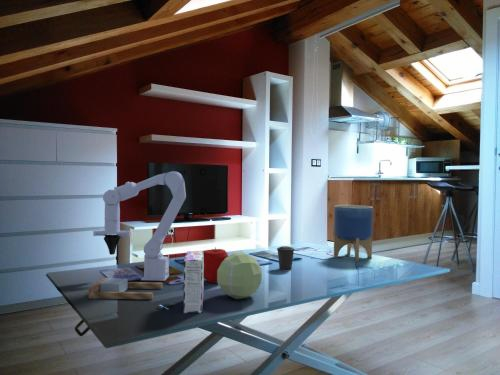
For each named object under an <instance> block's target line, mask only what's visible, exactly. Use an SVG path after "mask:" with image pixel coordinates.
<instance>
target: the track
mask: <svg viewBox="0 0 500 375" xmlns="http://www.w3.org/2000/svg"><path fill="white" fill-rule="evenodd" d="M109 278H110V277H103V278H101V279H100V280H98V281H97V282H95V283H94V284H92V285H91V286H89V287H88V299H104V300H105V299H108V300H110V299H111V300H113V299H114V300H153V299H154V292H151V291H150V292H149V291H148V292H147V291H146V292H145V291H144V292H142V291H139V292H138V291H124V292H103V291H100V283H101V282H103V281H105V280H107V279H109ZM128 289H142V290H143V289H144V290H145V289H147V290H162V289H163V282H146V281H144V282H141V281H139V282H138V281H128Z"/></svg>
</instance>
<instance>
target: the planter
mask: <svg viewBox="0 0 500 375" xmlns="http://www.w3.org/2000/svg"><path fill="white" fill-rule="evenodd" d="M333 208H334V210H333V211H334V212H333V213H334V214H333V217H334V218H333V234H334V235H333V257H334V258H335V259H336V258H339V253H340V251H341V250H342V248H343V247H345V246H346V253H347V255H351V250H352V246H353V250H354V261H355V262H356V263H357V262H360V246H361V247H362V248H363V249H364V250H365V253H366V257H367V258H368V259H372V258H373V256H372V255H373V236H374V234H373V233H374V232H373V231H374V229H373V228H374V207H373V206H370V205H361V204H360V205H359V204H358V205H357V204H335V205H334V206H333Z"/></svg>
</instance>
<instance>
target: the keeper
mask: <svg viewBox="0 0 500 375" xmlns="http://www.w3.org/2000/svg"><path fill="white" fill-rule="evenodd" d="M108 278H109V279H107V280H105V281H103V282H101V283H100V291H103V292H127V290H128V289H129V288H128V282H129V280H128V278H117V277H116V278H114V277H113V278H112V277H108Z"/></svg>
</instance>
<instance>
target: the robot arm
mask: <svg viewBox="0 0 500 375" xmlns="http://www.w3.org/2000/svg"><path fill="white" fill-rule="evenodd" d="M157 185H162V186H167V188H168V189H169V190H170V193H171V194H172V199H171V201H170V203H169V204H168V207H167V208H166V210H165V212H164V214H163V215H162V218H161V220H160V222H159V224H158V226H157V228H156V230H155V231H154V233H153V235H152V236H151V238H149V240H148V242H146V243H145V244H144V247H143V253H144V256H143V257H144V259H143V260H144V262H143V264H144V266H143V268H144V269H143V272H144V273H143V274H144V275H143V277H142V278H140V281H166V280H167V279H168V278H169V276H170V271H169V270H170V260H169V257H168V256H164V254H163V253H162V249H163V247H164V241H165V238H166V237H167V234H168V233H169V231H170V229H171V227H172V225H173V223H174V221H175V219H176V217H177V215H178V214H179V211H180V210H181V207H182V206H183V204H184V202H185V201H186V198H187V194H186V193H187V192H186V184H185V179H184V177H183V175H182V173H180V172H178V171H175V170H173V171H169V172H163V173H160V174H157V175H153V176H152V177H150V178H147V179H145V180H142V181H139V182H137V183H136V182H133V181H127V182H125V184H122V185H120V186H114V187H113V189H108V190H107V191H105V192H104V193H103V195H102V200H103V201H104V230H103V229H102V230H101V229H100V230H99V229H97V230H93V231H92V232H93V233H92V234H93V237H97V236H98V237H101V236H102V237H103V241H104V242H105V244H106V246H107V248H108V252H109V253H108V254H109V255H115V254H116V251H117V250H116V249H117V246H118V243H119V241H120V239H121V238H122V237H131V236H132V230H121V226H120V225H121V219H120V218H121V216H120V215H121V208H120V202H123V201H126V200H129V199H131V198H133V197H136V196H138V195H139V192H140V191H142V190H145V189H147V188H152V187H154V186H157Z"/></svg>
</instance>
